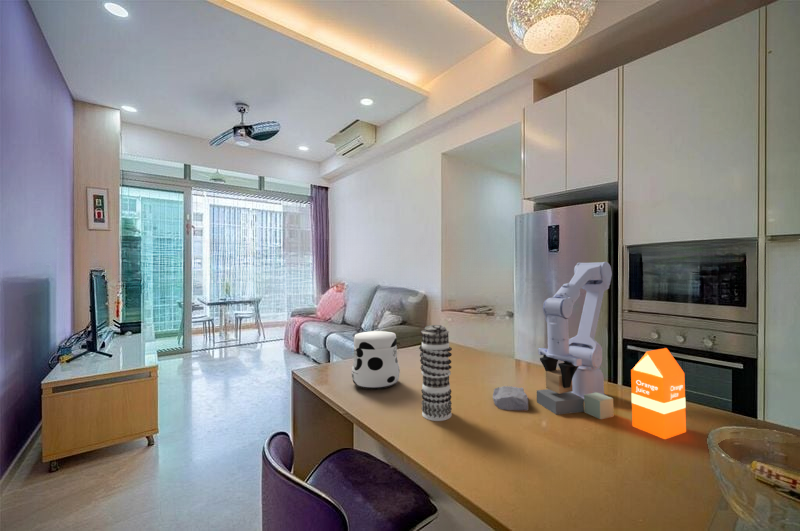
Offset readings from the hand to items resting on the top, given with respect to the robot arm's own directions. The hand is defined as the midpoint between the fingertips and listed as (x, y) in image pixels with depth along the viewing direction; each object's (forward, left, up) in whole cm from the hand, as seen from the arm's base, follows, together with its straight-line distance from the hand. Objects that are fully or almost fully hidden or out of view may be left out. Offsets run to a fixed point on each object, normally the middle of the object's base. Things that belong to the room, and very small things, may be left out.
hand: (559, 384), depth 100 cm
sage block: (-6, +8, -7) cm, 12 cm away
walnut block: (0, 0, -2) cm, 2 cm away
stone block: (+12, -8, -7) cm, 16 cm away
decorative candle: (+36, -9, -7) cm, 38 cm away
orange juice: (-12, +20, -7) cm, 24 cm away
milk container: (+45, -40, -7) cm, 61 cm away
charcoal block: (0, 0, -7) cm, 7 cm away
